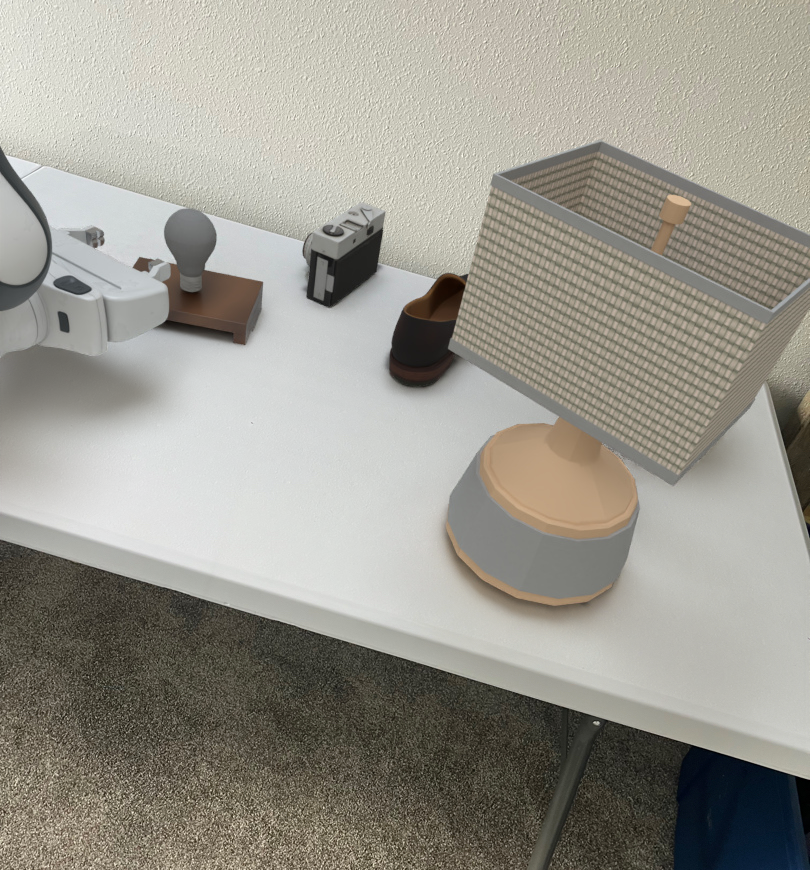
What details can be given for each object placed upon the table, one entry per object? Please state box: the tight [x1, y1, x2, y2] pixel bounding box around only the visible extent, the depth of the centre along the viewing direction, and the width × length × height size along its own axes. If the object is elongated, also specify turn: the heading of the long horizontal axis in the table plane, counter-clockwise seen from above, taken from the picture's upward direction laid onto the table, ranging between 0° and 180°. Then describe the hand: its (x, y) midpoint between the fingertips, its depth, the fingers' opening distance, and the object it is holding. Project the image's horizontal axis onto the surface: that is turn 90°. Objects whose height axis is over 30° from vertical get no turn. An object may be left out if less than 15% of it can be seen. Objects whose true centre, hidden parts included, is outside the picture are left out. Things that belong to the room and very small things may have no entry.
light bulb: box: [163, 207, 218, 292], centre depth 94 cm, size 6×6×10 cm
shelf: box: [131, 256, 264, 346], centre depth 99 cm, size 16×11×4 cm
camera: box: [301, 201, 387, 309], centre depth 110 cm, size 14×8×10 cm, turn 154°
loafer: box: [388, 272, 469, 387], centre depth 104 cm, size 10×28×10 cm, turn 154°
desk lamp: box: [445, 139, 810, 607], centre depth 69 cm, size 22×19×37 cm
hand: (132, 250), depth 85 cm, fingers open, 8 cm apart
